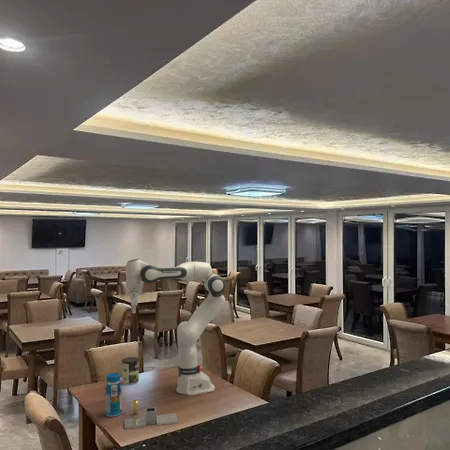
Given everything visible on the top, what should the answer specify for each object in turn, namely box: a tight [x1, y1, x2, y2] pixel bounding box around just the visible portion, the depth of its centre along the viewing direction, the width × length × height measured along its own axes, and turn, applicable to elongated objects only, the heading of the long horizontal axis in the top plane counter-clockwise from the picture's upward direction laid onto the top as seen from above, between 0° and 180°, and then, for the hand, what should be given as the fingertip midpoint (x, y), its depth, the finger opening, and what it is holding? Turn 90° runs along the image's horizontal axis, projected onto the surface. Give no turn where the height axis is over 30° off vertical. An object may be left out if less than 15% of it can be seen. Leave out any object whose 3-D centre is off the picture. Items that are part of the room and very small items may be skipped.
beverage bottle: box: [104, 372, 123, 418], centre depth 216 cm, size 8×8×20 cm
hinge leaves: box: [124, 406, 179, 430], centre depth 206 cm, size 25×9×6 cm, turn 103°
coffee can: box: [121, 356, 140, 386], centre depth 263 cm, size 10×10×14 cm
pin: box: [132, 399, 139, 416], centre depth 215 cm, size 2×2×7 cm
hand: (134, 311), depth 241 cm, fingers open, 8 cm apart
